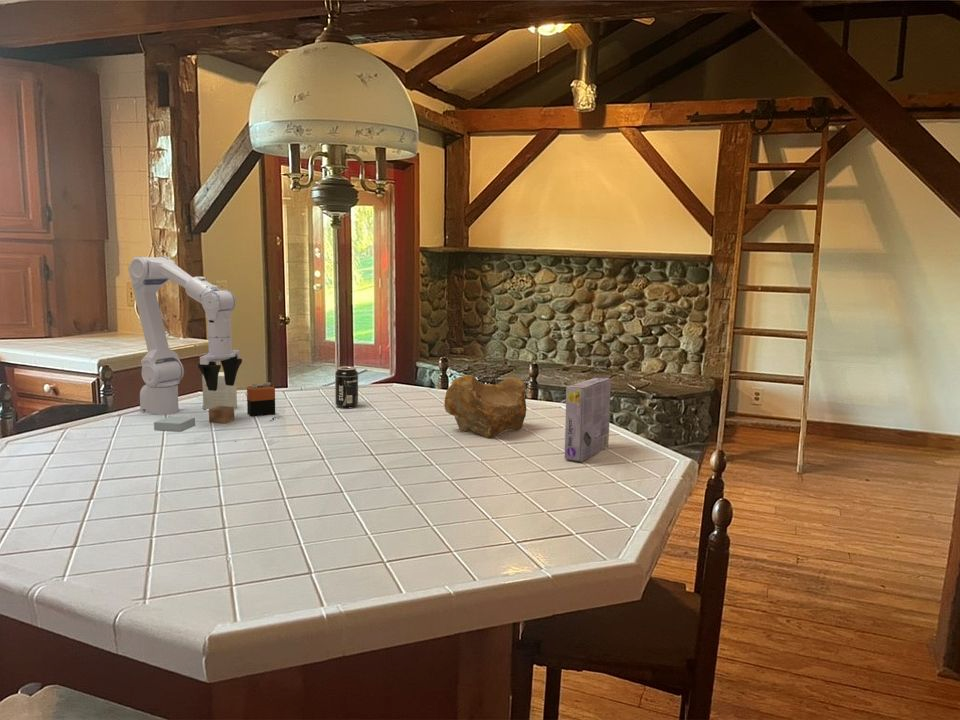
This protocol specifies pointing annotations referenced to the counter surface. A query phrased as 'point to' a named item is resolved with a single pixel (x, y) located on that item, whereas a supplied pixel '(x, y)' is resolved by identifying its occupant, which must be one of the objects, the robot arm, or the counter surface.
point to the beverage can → (346, 387)
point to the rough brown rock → (487, 405)
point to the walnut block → (221, 414)
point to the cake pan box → (587, 418)
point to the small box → (219, 394)
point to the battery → (261, 400)
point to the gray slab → (174, 423)
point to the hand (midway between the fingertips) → (221, 387)
